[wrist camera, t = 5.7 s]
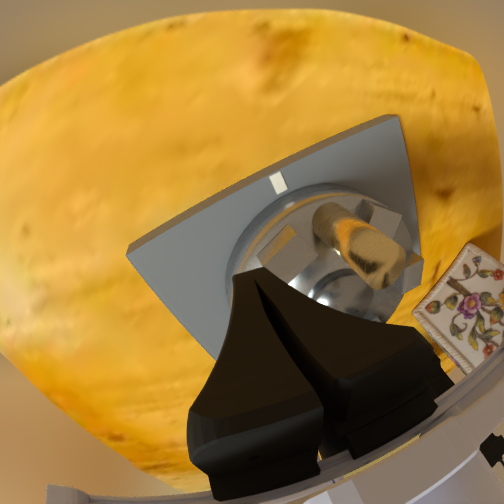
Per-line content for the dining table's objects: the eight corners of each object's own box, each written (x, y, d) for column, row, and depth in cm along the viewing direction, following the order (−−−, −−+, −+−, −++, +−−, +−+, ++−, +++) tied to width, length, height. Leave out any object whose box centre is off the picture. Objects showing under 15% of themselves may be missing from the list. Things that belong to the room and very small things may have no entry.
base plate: (412, 272, 25) (421, 280, 24) (237, 374, 25) (241, 386, 24) (384, 114, 17) (398, 116, 16) (128, 245, 17) (125, 256, 16)
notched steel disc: (385, 304, 23) (437, 362, 17) (252, 361, 22) (281, 443, 15) (385, 164, 17) (479, 203, 10) (196, 222, 16) (216, 312, 9)
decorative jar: (478, 280, 31) (555, 349, 16) (431, 338, 34) (500, 420, 18) (467, 236, 26) (575, 319, 10) (408, 310, 28) (505, 419, 13)
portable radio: (379, 383, 35) (460, 508, 13) (400, 354, 32) (496, 486, 11) (411, 373, 37) (487, 479, 16) (430, 346, 35) (517, 456, 13)
